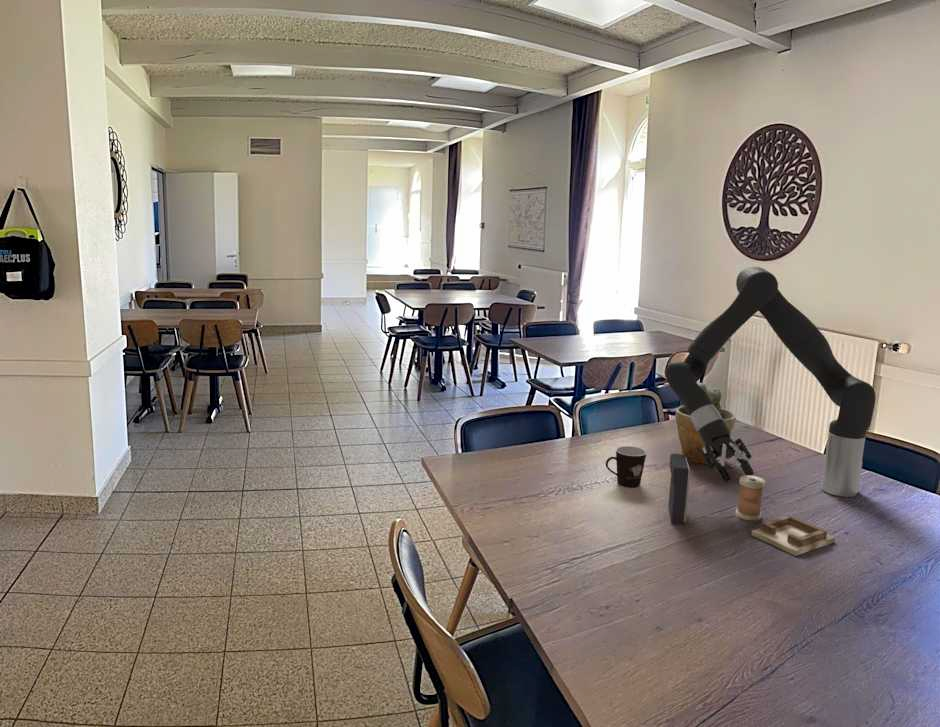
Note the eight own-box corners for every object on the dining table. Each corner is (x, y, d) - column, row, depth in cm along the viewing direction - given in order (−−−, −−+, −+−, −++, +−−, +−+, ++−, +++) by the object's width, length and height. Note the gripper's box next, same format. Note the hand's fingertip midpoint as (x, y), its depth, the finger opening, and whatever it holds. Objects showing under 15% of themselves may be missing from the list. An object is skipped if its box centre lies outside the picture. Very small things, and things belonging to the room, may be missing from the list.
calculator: (686, 525, 175) (692, 469, 172) (668, 523, 176) (674, 467, 173) (682, 507, 185) (687, 454, 182) (665, 506, 186) (670, 453, 183)
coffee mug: (641, 479, 205) (644, 447, 203) (645, 490, 197) (648, 456, 195) (601, 476, 206) (604, 444, 204) (604, 487, 198) (606, 454, 196)
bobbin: (746, 509, 186) (750, 473, 183) (766, 517, 180) (770, 481, 178) (730, 513, 183) (734, 477, 180) (750, 522, 177) (754, 485, 175)
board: (790, 522, 178) (791, 511, 177) (834, 542, 168) (836, 530, 167) (751, 535, 170) (752, 523, 170) (795, 555, 160) (797, 544, 160)
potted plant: (659, 452, 229) (665, 379, 224) (702, 446, 237) (709, 374, 231) (699, 471, 213) (706, 392, 207) (744, 463, 220) (752, 387, 215)
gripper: (700, 421, 184) (731, 476, 176) (736, 415, 191) (767, 467, 183) (683, 435, 189) (712, 489, 182) (718, 428, 196) (748, 480, 189)
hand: (740, 478), depth 183 cm, fingers open, 8 cm apart
